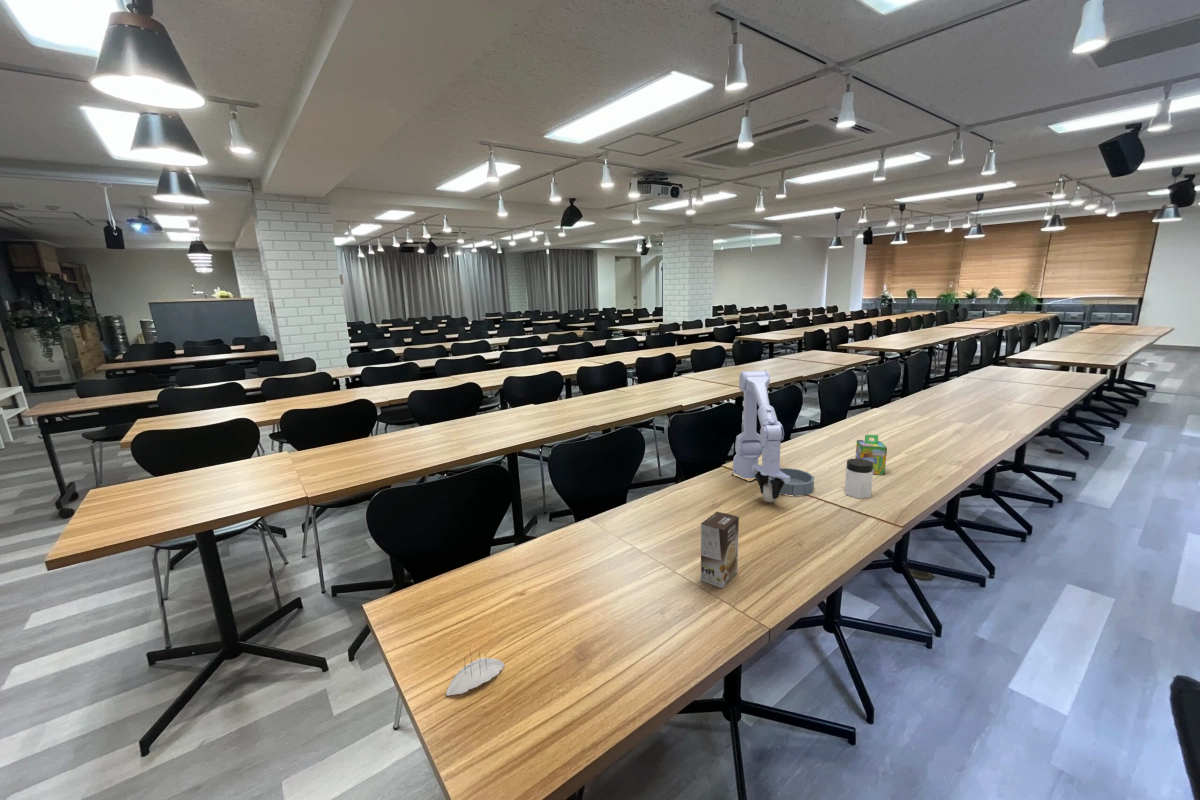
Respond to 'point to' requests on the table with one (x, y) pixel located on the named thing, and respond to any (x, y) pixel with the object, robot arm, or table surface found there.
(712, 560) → the coffee box
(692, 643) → the table surface
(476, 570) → the table surface
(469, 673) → the pincushion
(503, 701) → the table surface
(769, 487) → the pebble
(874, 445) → the chalk box
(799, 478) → the bowl
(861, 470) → the jar
